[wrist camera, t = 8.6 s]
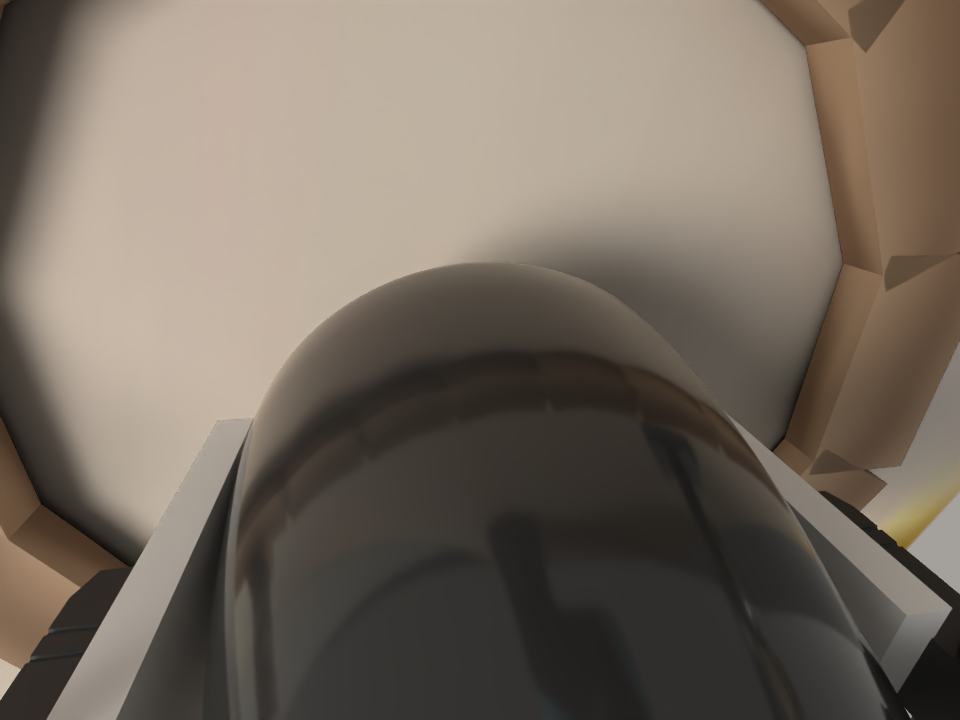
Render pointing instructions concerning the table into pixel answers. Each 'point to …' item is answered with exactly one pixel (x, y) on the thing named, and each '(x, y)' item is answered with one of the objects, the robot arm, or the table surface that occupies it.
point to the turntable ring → (849, 320)
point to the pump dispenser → (516, 528)
